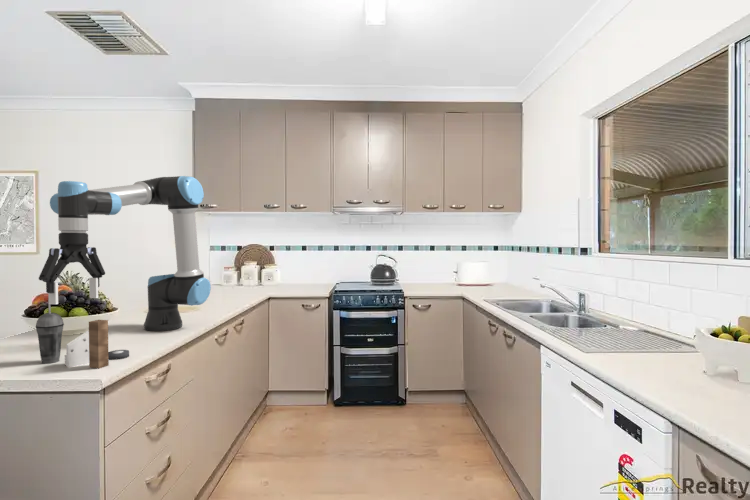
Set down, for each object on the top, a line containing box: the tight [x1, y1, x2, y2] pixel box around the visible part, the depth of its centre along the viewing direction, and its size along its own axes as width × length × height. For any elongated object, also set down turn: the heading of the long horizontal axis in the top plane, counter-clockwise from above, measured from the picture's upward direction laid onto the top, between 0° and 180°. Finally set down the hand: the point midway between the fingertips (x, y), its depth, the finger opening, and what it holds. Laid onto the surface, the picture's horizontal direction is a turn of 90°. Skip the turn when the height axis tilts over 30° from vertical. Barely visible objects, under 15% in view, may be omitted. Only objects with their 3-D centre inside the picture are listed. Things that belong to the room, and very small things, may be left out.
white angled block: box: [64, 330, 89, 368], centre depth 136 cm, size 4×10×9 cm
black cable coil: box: [108, 349, 130, 361], centre depth 144 cm, size 6×6×2 cm
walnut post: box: [88, 319, 110, 370], centre depth 133 cm, size 4×4×14 cm
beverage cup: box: [35, 298, 65, 365], centre depth 138 cm, size 7×7×20 cm
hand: (74, 301), depth 135 cm, fingers open, 13 cm apart
